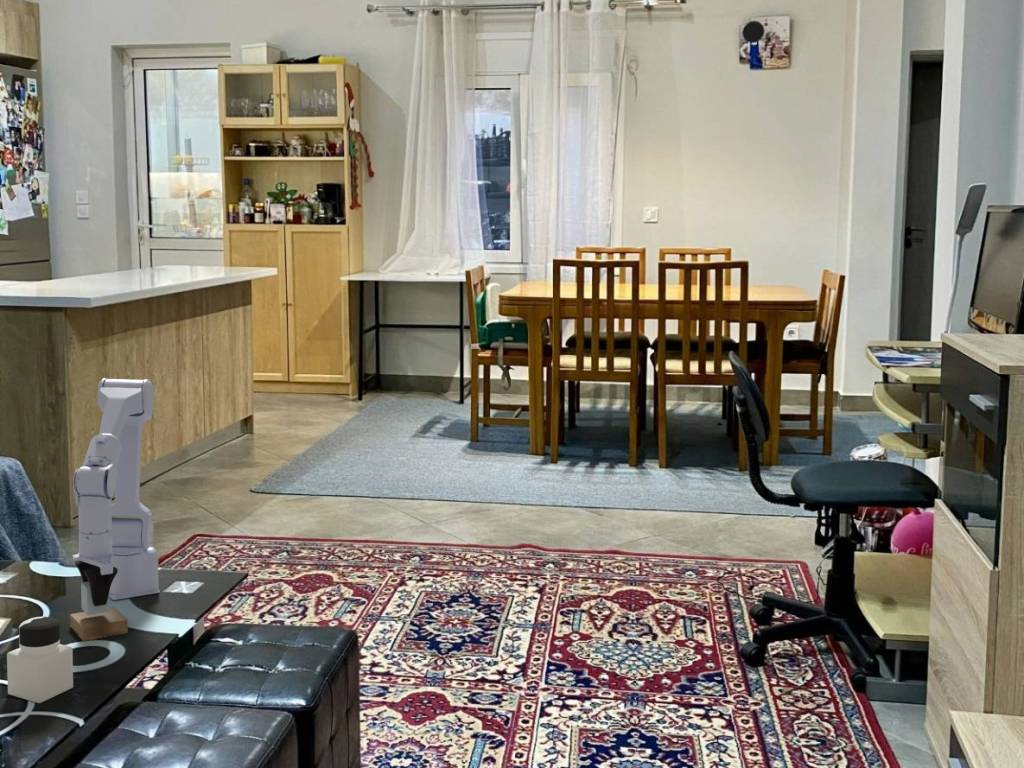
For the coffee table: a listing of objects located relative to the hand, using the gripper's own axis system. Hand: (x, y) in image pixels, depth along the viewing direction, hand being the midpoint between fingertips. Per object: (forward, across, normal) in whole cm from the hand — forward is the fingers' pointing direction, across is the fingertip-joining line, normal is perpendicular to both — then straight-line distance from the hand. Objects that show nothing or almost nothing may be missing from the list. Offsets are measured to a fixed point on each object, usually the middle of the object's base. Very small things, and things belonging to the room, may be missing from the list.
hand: (96, 601), depth 206 cm
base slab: (+6, 0, 0) cm, 6 cm away
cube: (+2, 0, 0) cm, 2 cm away
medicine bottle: (+6, +22, -15) cm, 27 cm away
